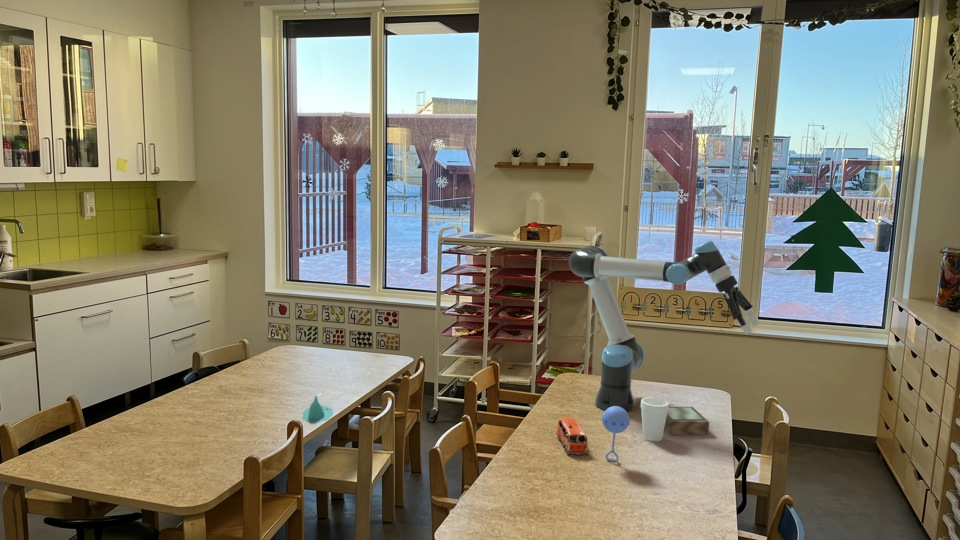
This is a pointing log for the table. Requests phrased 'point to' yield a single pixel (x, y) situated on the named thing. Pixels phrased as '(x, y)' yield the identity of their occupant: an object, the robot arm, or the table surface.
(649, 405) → the foam cup
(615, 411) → the baby rattle
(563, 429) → the toy bus
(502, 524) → the table surface
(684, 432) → the walnut plinth
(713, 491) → the table surface
